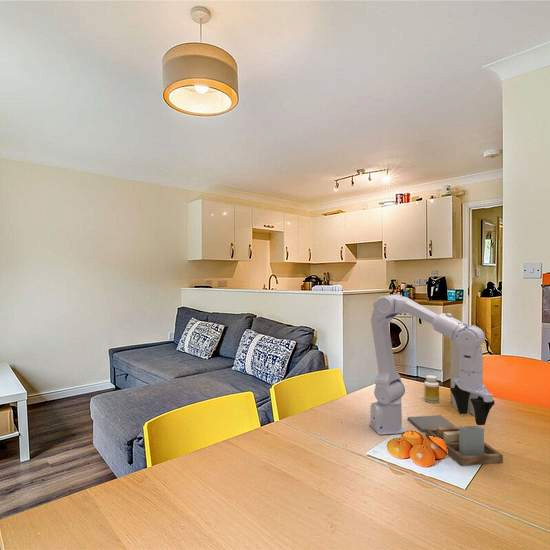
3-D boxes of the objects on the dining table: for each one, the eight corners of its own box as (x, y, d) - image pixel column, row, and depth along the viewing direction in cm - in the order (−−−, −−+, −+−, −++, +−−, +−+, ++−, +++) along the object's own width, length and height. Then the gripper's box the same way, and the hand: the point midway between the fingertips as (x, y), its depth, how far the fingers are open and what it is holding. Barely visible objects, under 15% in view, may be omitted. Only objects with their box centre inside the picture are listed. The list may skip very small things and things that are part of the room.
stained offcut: (440, 443, 110) (440, 429, 110) (436, 439, 112) (436, 427, 112) (465, 441, 110) (465, 428, 110) (461, 438, 112) (461, 425, 112)
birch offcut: (447, 448, 106) (447, 435, 106) (443, 445, 108) (443, 432, 108) (472, 446, 107) (472, 433, 107) (468, 443, 109) (468, 430, 109)
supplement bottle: (441, 403, 141) (441, 378, 141) (427, 403, 141) (427, 378, 141) (435, 398, 147) (435, 374, 147) (422, 398, 147) (422, 374, 147)
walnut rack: (461, 465, 96) (461, 458, 96) (425, 435, 114) (425, 429, 114) (502, 462, 98) (502, 455, 98) (461, 433, 116) (461, 426, 116)
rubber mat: (422, 432, 116) (422, 429, 116) (407, 419, 126) (407, 417, 126) (457, 430, 118) (457, 427, 118) (440, 417, 128) (440, 415, 128)
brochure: (478, 417, 127) (478, 332, 127) (461, 416, 129) (461, 331, 128) (466, 403, 141) (465, 326, 141) (450, 402, 142) (450, 325, 142)
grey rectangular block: (463, 458, 100) (463, 429, 100) (459, 455, 102) (459, 426, 102) (484, 457, 101) (483, 428, 101) (479, 453, 103) (479, 425, 103)
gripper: (503, 377, 94) (503, 429, 94) (467, 363, 109) (468, 408, 109) (478, 378, 94) (478, 430, 94) (445, 364, 108) (446, 409, 108)
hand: (471, 418), depth 101 cm, fingers open, 7 cm apart
